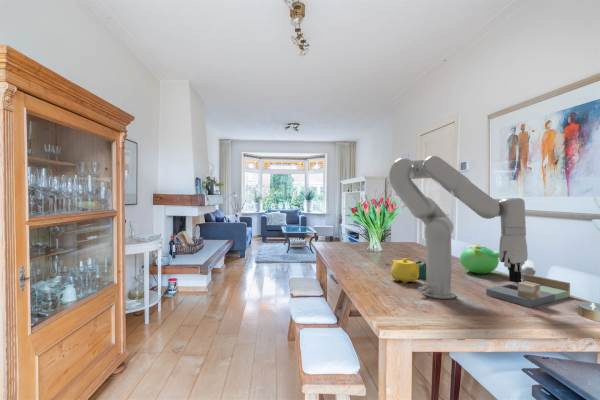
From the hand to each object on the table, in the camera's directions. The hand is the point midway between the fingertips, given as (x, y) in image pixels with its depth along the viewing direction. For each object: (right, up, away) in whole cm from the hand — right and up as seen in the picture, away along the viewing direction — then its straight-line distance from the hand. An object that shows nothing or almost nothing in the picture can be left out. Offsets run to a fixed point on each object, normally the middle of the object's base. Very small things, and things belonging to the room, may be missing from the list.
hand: (515, 281), depth 113 cm
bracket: (-13, -9, +44) cm, 47 cm away
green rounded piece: (+16, -9, +50) cm, 53 cm away
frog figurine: (+29, -9, +34) cm, 46 cm away
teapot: (-28, -9, +34) cm, 45 cm away
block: (+7, -6, +3) cm, 10 cm away
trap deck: (+13, -9, +12) cm, 20 cm away
